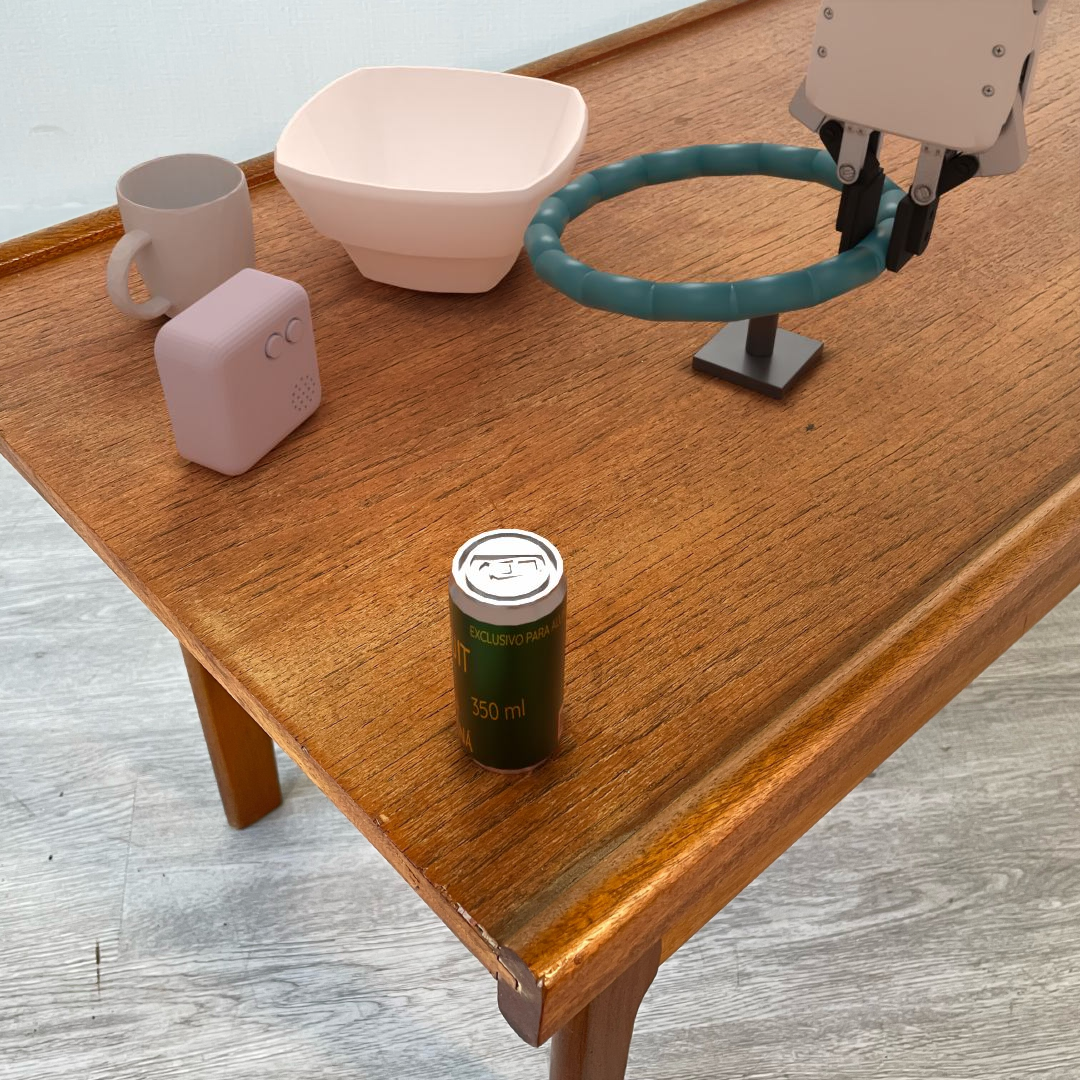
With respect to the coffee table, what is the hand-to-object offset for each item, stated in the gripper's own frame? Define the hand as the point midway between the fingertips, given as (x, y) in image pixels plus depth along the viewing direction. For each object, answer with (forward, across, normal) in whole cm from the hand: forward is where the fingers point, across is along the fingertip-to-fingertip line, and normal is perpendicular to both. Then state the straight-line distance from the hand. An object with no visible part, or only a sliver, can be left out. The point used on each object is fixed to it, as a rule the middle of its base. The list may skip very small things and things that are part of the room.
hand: (878, 251), depth 65 cm
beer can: (+17, +5, +27) cm, 33 cm away
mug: (+17, +48, +9) cm, 52 cm away
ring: (+1, +10, 0) cm, 10 cm away
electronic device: (+17, +33, +17) cm, 41 cm away
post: (+17, +10, -10) cm, 22 cm away
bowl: (+17, +37, -8) cm, 42 cm away
